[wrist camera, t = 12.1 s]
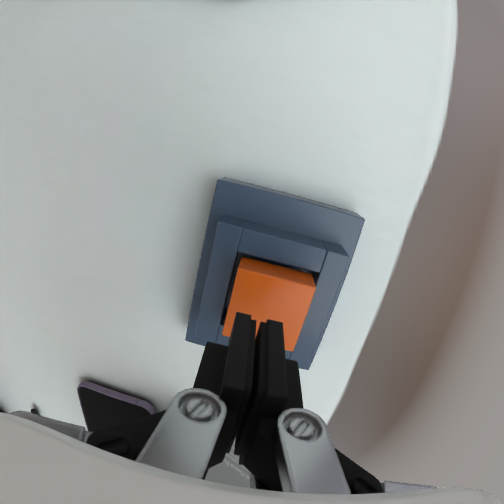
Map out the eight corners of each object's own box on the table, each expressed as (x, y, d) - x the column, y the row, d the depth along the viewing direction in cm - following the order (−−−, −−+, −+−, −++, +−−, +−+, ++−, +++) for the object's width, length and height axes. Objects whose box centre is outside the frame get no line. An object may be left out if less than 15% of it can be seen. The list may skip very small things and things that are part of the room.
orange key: (291, 334, 17) (293, 352, 15) (226, 318, 17) (221, 335, 15) (312, 273, 16) (316, 287, 14) (241, 255, 16) (237, 267, 14)
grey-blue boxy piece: (306, 355, 21) (311, 388, 17) (191, 327, 21) (177, 357, 17) (357, 213, 18) (375, 226, 14) (222, 177, 18) (210, 181, 14)
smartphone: (100, 467, 27) (74, 382, 22) (103, 461, 28) (80, 374, 23) (159, 488, 27) (153, 409, 22) (161, 480, 28) (157, 400, 23)
